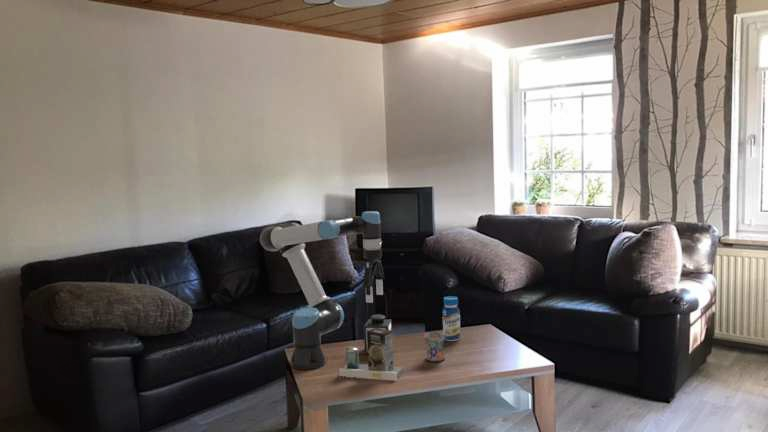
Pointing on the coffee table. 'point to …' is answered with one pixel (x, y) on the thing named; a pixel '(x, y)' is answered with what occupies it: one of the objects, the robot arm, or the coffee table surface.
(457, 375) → the coffee table surface
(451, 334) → the beverage bottle
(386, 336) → the coffee box
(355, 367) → the tea tin
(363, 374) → the shelf board
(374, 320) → the lantern
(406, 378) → the coffee table surface
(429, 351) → the mug
